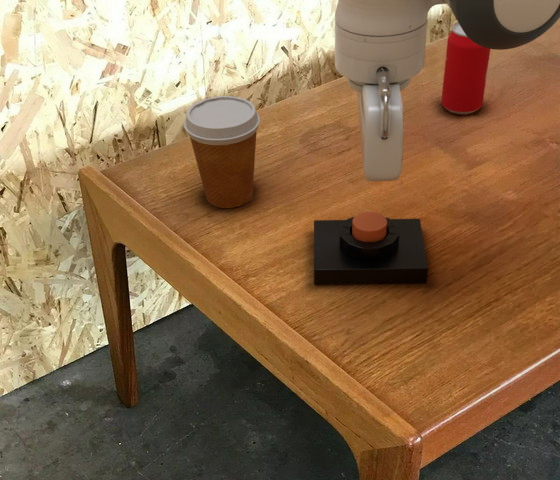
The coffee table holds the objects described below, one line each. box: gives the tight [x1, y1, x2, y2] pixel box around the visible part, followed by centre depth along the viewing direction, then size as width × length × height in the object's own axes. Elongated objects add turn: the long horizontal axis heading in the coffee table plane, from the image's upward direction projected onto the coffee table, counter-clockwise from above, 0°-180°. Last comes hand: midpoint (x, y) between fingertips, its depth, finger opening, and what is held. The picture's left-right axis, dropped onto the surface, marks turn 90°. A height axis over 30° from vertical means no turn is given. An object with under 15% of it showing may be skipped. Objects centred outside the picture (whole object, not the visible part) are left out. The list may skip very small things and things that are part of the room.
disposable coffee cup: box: [183, 95, 261, 209], centre depth 102 cm, size 10×10×12 cm
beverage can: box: [440, 22, 491, 115], centre depth 117 cm, size 6×6×12 cm
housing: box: [313, 215, 429, 286], centre depth 94 cm, size 13×10×4 cm
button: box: [352, 211, 387, 242], centre depth 92 cm, size 4×4×2 cm
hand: (375, 172), depth 88 cm, fingers closed
